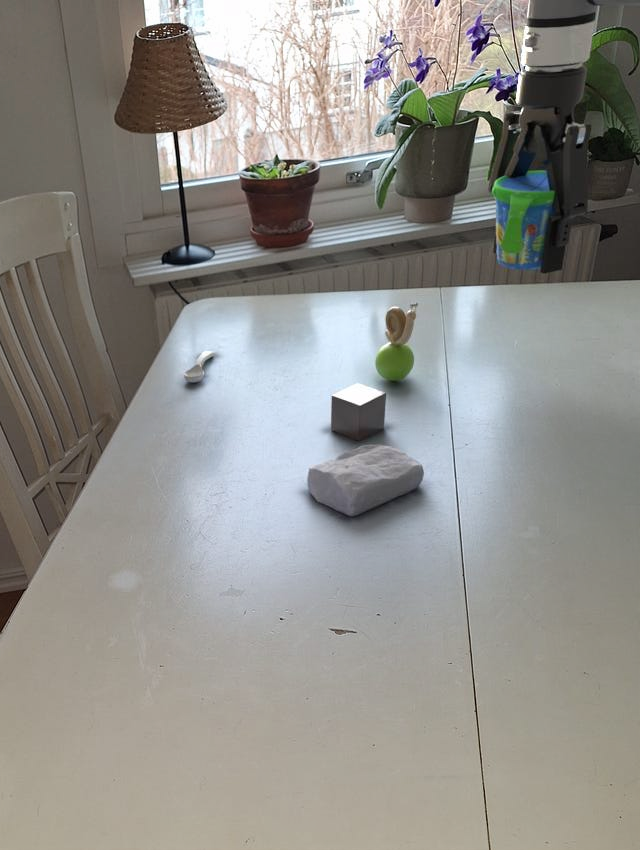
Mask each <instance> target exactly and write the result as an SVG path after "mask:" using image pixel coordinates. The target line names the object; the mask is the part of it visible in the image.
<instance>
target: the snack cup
mask: <svg viewBox="0 0 640 850" xmlns="http://www.w3.org/2000/svg"><path fill="white" fill-rule="evenodd" d="M554 195H555V191H554V190H552V191H549V185H548V178H547V172H546V170H544V169H543V170H528V172H527V174H526V175H524V176H520V177H516V178H509V177H508V176H507V175H506V176H503V177H501V178H499V179H497V180H496V181H495V183H494V187H493V189H492V196H493V198H494V200H495V232H496V237H497V238H496V241H497V242H496V243H497V254H496V256H497V263H498V264H499V265H502V266H504V267H506V268H508V269H512V270H517V271H519V270H523V271H524V270H528V271H529V270H530V271H531V270H540V269H541V263H542V257H543V250H544V243H545V236H546V230H547V223H548V219H549V217H551V216H553V209H552V203H553V200H554ZM562 208H564V205H563V206H562Z"/></svg>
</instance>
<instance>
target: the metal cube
mask: <svg viewBox="0 0 640 850" xmlns="http://www.w3.org/2000/svg"><path fill="white" fill-rule="evenodd" d="M386 402H387V392H384V391H381V390H379V389H376V388H373V387H370V386H367V385H364V384H361V383H359V382H358V383H357V382H356V383H354V384H353V385H350V386H348V387H346V388H344V389H342V390H340V391H338V392H335V393H333V394H332V395H331V405H330V406H331V408H330V410H331V413H330V431H332V432H335V433H337V434H340V435H342V436H345V437H347V438H350V439H352V440H355V441H357V442H360V441H361V440H363V439H366V438H368V437H369V436H371V435H374V434H375V433H377V432H380V431H381V430H383V429H384V428H385V421H386V420H385V419H386Z"/></svg>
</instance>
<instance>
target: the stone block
mask: <svg viewBox="0 0 640 850" xmlns="http://www.w3.org/2000/svg"><path fill="white" fill-rule="evenodd" d="M424 475H425V471H424V466H423V464H421V463H420V462H419V461H418V460H416V459H415V458H414V457H412V456H409V455H408V454H406V453H405V452H403V451H401V450H399V449H398V448H396V447H393V446H390V445H384V444H366V445H365V444H364V445H361V446H359V447H358V448H355V449H351V450H348V451H345V452H343V453H341V454H339V455H338V456H337V457H335V458H334V459H332V460H328V461H326V462H324V463H320V464H317V465H314V466H312V467H309V468H308V472H307V477H306V482H307V489H308V492H309V494H310V495H311V496H312V497H313V498H314V500H316V502H318V503H320V504H323V505H325V506H327V507H329V508H332V509H334V510H335V511H337V512H339V513H341V514H344V515H345V516H347V517H356V516H359V515H360V514H363V513H366V512H368V511H370V510H373V509H374V508H377V507H379V506H380V505H383V504H385V503H388V502H390V501H393V500H394V499H395V498H397V497H399V496H403V495H406V494H408V493H410V492H412V491H414V490H415V489H417V488H418V487H419V486H420V485H421V484H422V481H423V479H424Z"/></svg>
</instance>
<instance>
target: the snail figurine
mask: <svg viewBox="0 0 640 850" xmlns="http://www.w3.org/2000/svg"><path fill="white" fill-rule="evenodd" d="M418 306H419V303H418V302H414V303H410V304H409V308H410V310H408V311H407V312H406V313H405V312H404V310H403V309H402V308H401V307H399V306H392V307H390V308H389V309H388V310H387V312H386V314H385V319H384V320H385V326H386V327H385V328H386V330H385V331H384V334H385V337H386V339H387V341H388V342H387V343H386V344H384V345H382V347H381V348H379V350H378V352H377V354H376V355H375V361H374V363H375V364H374V365H375V369H376V372H377V373H378V374H379V376H380V377H382V378H383V379H385V380H387V381H391V382H395V381H400V380H402V379H405V378H406V377H408V375H410V373H411V372H412V370H413V368H414V365H415V364H414V363H415V355H414V352H413V350H412V348H411V347H410V346H409V345H408V344H407V343H408V342H409V340H411V336H412V334H413V331H414V326H415V320H416V318H417V313H416V312H417V307H418ZM414 307H415V310H413V308H414Z"/></svg>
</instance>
